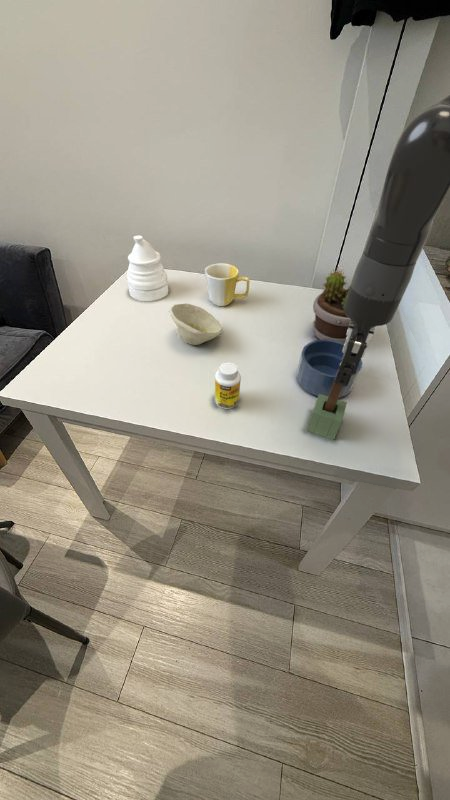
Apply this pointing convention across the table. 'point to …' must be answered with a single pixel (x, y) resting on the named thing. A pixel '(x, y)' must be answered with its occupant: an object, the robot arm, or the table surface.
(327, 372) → the blue round tub
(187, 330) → the bowl
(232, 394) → the supplement bottle
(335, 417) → the stick holder
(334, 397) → the brown stick
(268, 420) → the table surface
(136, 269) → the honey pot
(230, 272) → the mug
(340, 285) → the flowerpot
